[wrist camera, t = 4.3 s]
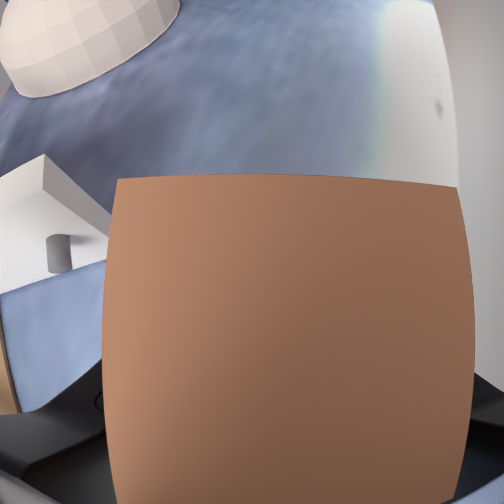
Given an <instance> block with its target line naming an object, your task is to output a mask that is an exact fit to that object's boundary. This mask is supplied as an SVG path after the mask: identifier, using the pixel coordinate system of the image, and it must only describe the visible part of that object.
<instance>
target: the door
mask: <svg viewBox="0 0 504 504" xmlns="http://www.w3.org/2000/svg"><path fill="white" fill-rule="evenodd" d="M111 217H112V215H111V214H109V213H108V212H107V211H106V210H105V209H104V208H103V207H101V206H100V205H99V204H98V203H97V202H96V201H95V200H94V199H93V198H91V197H90V196H89V195H88V194H87V193H86V192H85V191H84V190H83V189H82V188H80V187H79V186H78V185H77V184H76V183H75V182H74V181H73V180H72V179H71V178H70V177H69V176H67V175H66V174H65V173H64V172H63V171H62V170H61V169H60V168H59V167H58V166H57V165H56V164H55V163H54V162H53V161H52V160H51V159H50V158H49V157H48V156H47V155H45V154H43V155H41V156H39V157H37V158H35V159H33V160H31V161H29V162H27V163H25V164H23V165H21V166H20V167H18V168H16V169H14V170H12V171H11V172H9V173H7V174H5V175H4V176H2V177H0V294H2V293H5V292H8V291H10V290H13V289H16V288H19V287H22V286H25V285H28V284H31V283H34V282H37V281H40V280H43V279H46V278H49V277H52V276H55V275H58V274H61V273H66V272H69V271H71V270H73V269H76V268H79V267H82V266H85V265H89V264H92V263H95V262H98V261H101V260H104V259H106V257H107V248H108V239H109V231H110V224H111Z"/></svg>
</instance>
